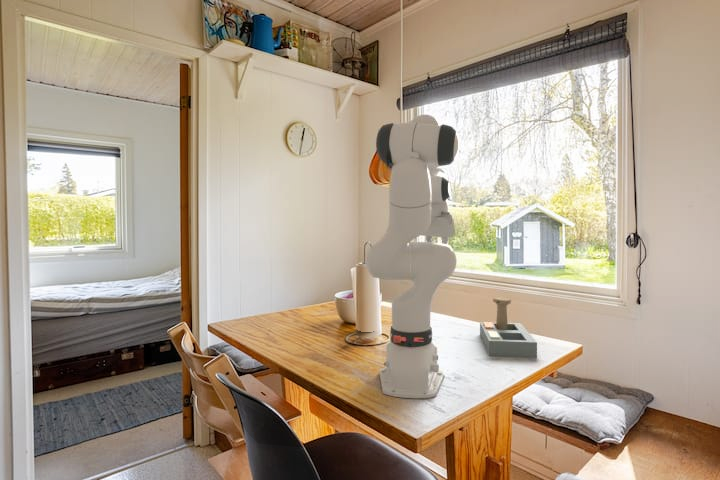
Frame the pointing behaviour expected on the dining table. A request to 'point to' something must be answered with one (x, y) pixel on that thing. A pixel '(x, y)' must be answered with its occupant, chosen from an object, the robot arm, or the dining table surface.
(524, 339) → the socket board
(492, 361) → the dining table surface
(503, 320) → the handle
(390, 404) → the dining table surface
